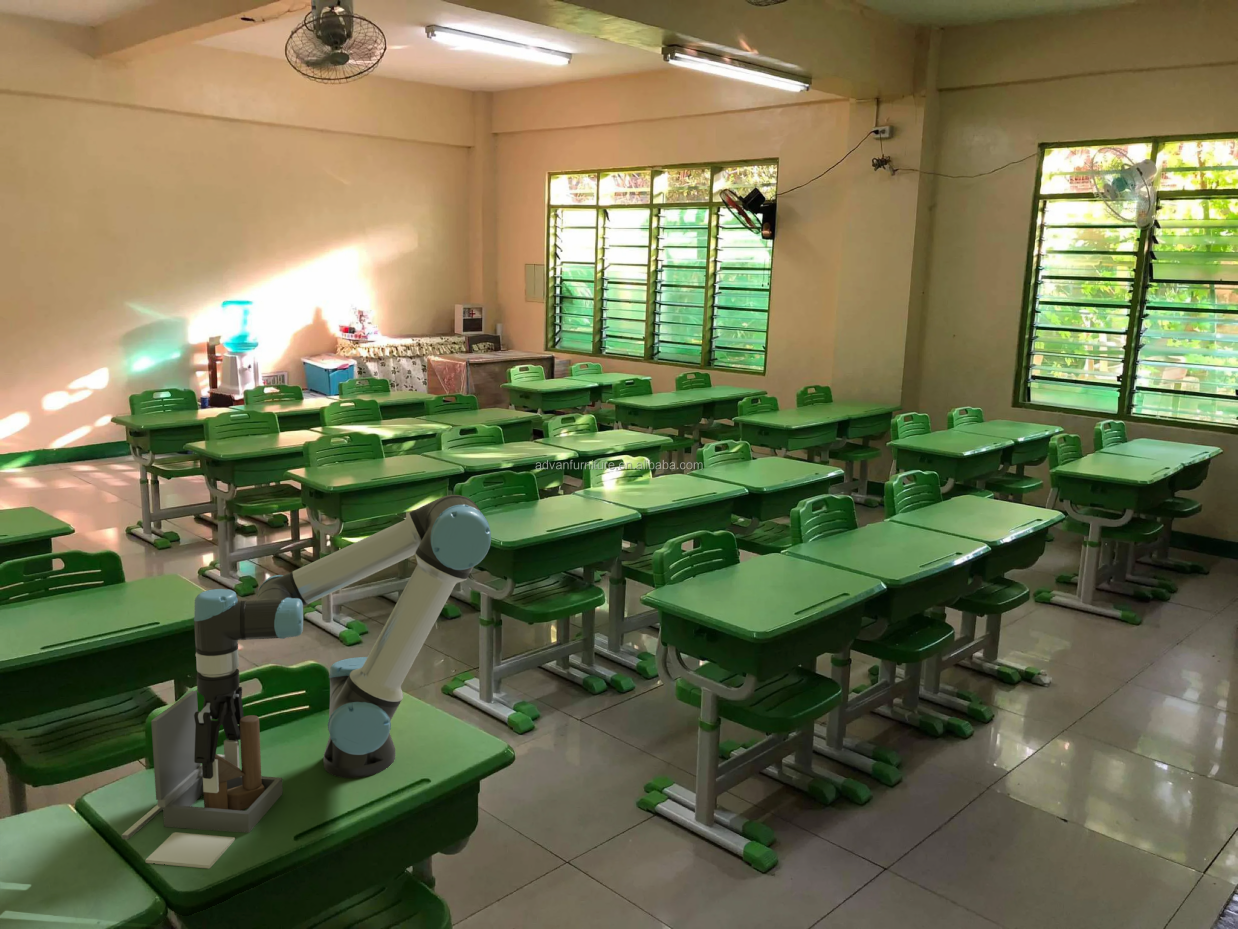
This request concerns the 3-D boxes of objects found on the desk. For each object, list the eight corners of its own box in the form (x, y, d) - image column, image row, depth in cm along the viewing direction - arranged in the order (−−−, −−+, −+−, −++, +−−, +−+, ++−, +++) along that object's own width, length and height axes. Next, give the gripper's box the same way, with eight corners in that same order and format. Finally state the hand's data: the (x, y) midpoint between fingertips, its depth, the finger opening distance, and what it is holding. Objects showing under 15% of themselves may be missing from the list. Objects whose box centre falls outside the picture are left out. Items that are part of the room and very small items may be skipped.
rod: (161, 807, 188) (160, 801, 188) (166, 807, 188) (166, 802, 188) (122, 840, 177) (121, 834, 176) (128, 841, 176) (127, 835, 176)
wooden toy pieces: (204, 813, 186) (199, 726, 183) (259, 796, 192) (255, 712, 190) (209, 821, 183) (205, 733, 180) (265, 803, 190) (262, 718, 187)
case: (284, 794, 194) (280, 695, 190) (249, 833, 179) (244, 727, 176) (199, 787, 195) (194, 689, 192) (157, 825, 181) (151, 720, 177)
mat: (235, 840, 177) (234, 837, 177) (209, 868, 168) (209, 865, 168) (174, 835, 178) (173, 832, 178) (145, 862, 169) (145, 859, 169)
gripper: (226, 650, 192) (229, 756, 196) (169, 689, 172) (174, 806, 176) (261, 653, 191) (264, 759, 195) (208, 692, 172) (213, 809, 175)
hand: (221, 781), depth 186 cm, fingers closed on wooden toy pieces, 7 cm apart
